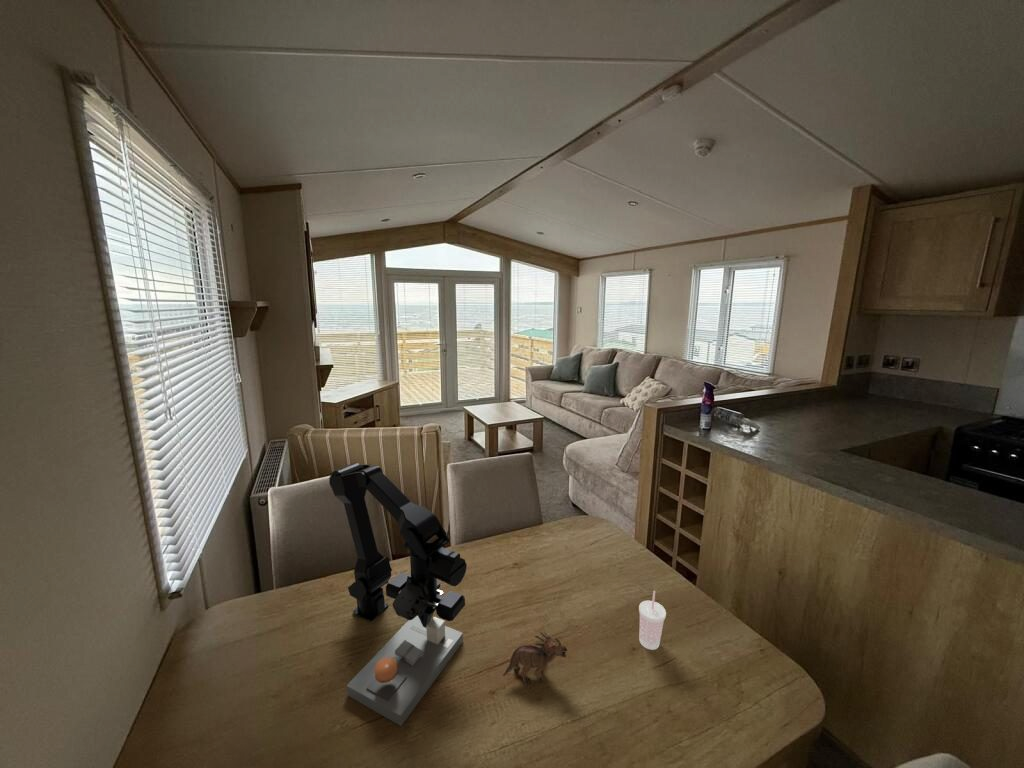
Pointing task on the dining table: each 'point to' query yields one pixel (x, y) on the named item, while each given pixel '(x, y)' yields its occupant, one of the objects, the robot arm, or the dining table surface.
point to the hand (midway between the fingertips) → (425, 626)
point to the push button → (385, 670)
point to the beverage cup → (651, 623)
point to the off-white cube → (435, 630)
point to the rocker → (408, 652)
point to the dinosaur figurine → (536, 656)
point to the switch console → (404, 672)
